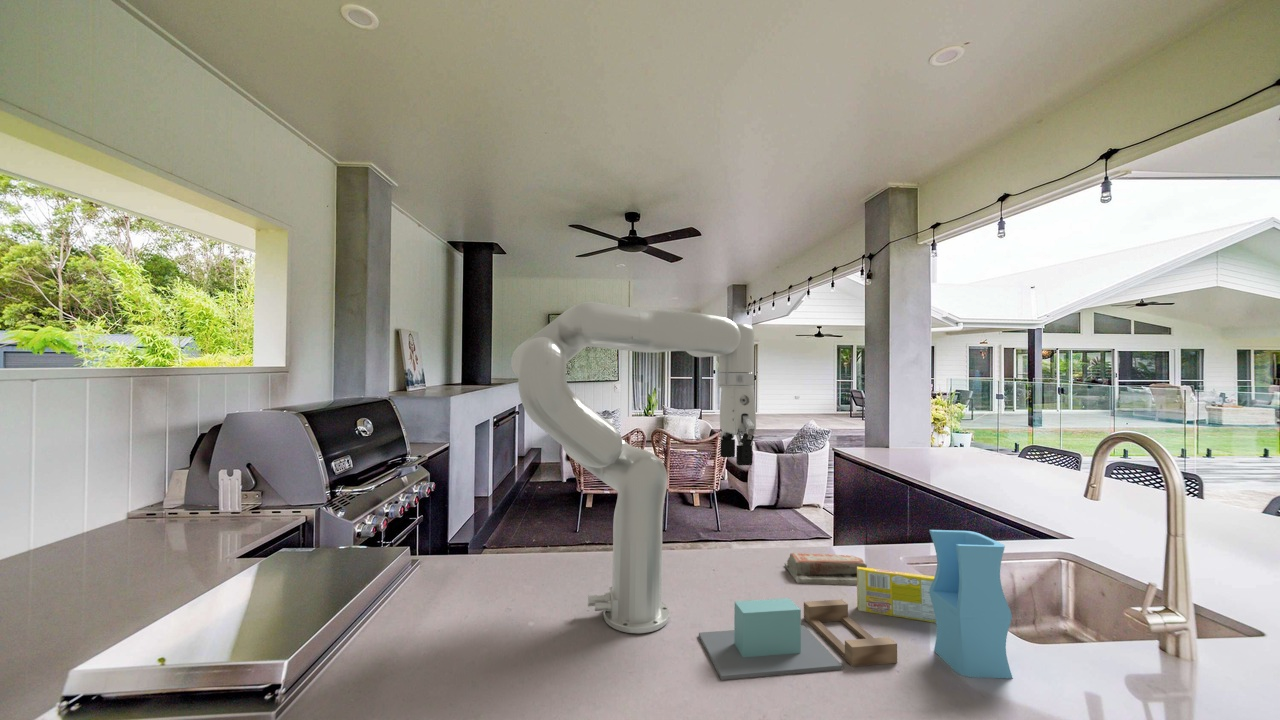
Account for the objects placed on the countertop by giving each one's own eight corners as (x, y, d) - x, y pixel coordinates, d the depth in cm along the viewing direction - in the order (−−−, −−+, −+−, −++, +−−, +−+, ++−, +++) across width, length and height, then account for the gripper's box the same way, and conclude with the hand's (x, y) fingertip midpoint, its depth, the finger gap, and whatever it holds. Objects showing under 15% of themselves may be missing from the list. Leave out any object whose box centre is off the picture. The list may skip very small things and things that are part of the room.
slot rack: (852, 666, 73) (852, 647, 73) (803, 617, 88) (803, 601, 88) (897, 662, 74) (897, 643, 74) (841, 615, 89) (841, 599, 89)
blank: (800, 652, 75) (800, 609, 76) (743, 657, 74) (743, 613, 74) (789, 639, 79) (789, 598, 79) (734, 643, 78) (734, 601, 78)
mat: (721, 680, 69) (721, 675, 69) (698, 636, 81) (698, 632, 81) (842, 669, 72) (842, 665, 72) (803, 628, 84) (803, 625, 84)
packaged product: (797, 563, 103) (784, 547, 113) (797, 585, 103) (784, 567, 113) (877, 565, 103) (857, 549, 113) (877, 587, 103) (857, 569, 112)
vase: (930, 647, 79) (928, 529, 79) (976, 648, 78) (974, 530, 79) (961, 676, 71) (958, 545, 72) (1012, 678, 70) (1010, 547, 71)
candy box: (949, 621, 88) (948, 577, 88) (952, 626, 86) (952, 581, 86) (856, 606, 93) (856, 565, 93) (858, 611, 91) (857, 569, 91)
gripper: (769, 381, 91) (769, 468, 90) (737, 381, 108) (737, 454, 107) (733, 381, 90) (733, 468, 89) (707, 381, 107) (706, 454, 106)
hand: (735, 460), depth 98 cm, fingers open, 9 cm apart
